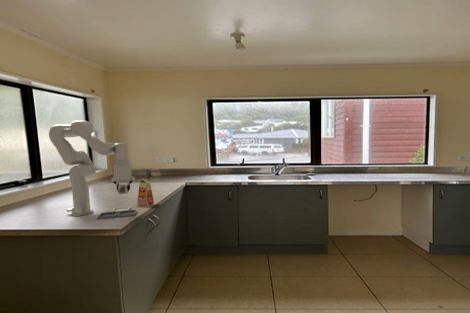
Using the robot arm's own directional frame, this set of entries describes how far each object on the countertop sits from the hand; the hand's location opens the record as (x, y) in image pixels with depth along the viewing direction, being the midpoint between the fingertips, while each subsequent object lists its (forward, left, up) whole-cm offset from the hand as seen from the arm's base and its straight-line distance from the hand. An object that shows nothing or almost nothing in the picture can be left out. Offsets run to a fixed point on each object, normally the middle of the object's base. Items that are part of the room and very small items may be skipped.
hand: (123, 190), depth 171 cm
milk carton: (+11, +18, -15) cm, 26 cm away
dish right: (+2, -3, -15) cm, 15 cm away
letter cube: (0, 0, -1) cm, 1 cm away
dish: (-4, +8, -15) cm, 18 cm away
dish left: (-9, -3, -15) cm, 18 cm away
